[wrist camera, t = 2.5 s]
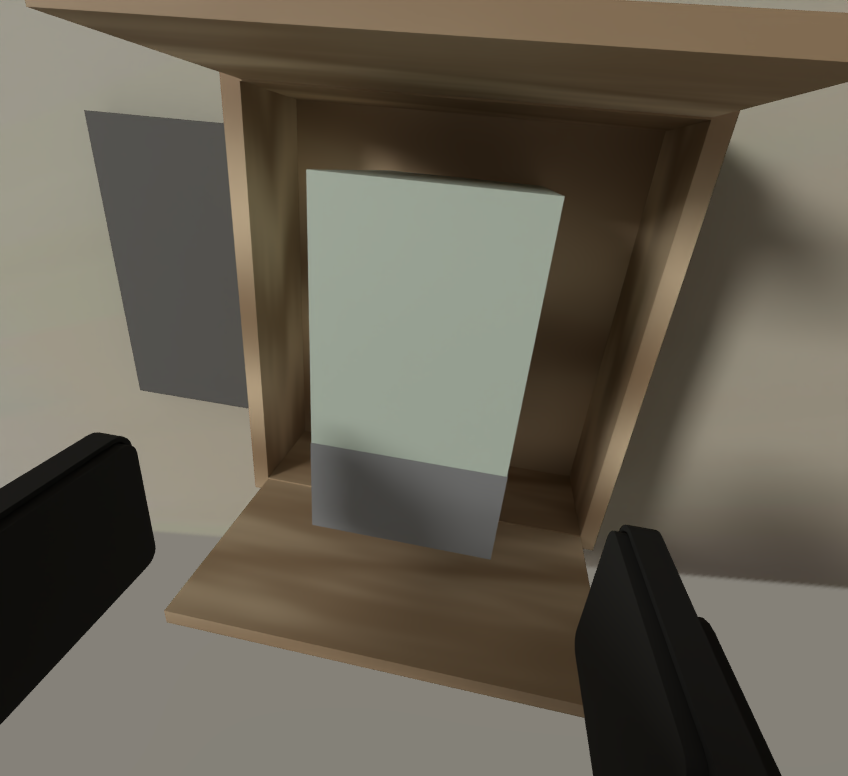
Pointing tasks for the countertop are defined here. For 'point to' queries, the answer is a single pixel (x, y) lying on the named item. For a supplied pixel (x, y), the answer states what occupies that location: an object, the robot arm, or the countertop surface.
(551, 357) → the wooden crate
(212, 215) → the rubber mat
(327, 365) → the capped box
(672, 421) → the countertop surface
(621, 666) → the robot arm
